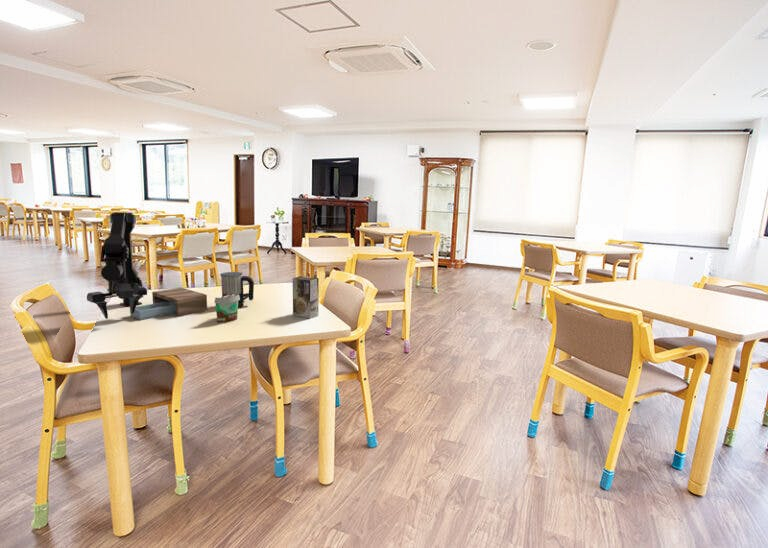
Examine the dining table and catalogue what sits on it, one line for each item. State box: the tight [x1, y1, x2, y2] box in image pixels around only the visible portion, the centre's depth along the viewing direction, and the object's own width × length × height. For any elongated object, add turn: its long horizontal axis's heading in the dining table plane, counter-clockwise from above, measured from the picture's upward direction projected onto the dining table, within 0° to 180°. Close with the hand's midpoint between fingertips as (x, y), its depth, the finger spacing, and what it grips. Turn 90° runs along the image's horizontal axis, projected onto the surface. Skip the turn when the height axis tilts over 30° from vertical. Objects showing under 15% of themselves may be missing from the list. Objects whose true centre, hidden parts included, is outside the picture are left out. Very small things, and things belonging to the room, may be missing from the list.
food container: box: [214, 292, 240, 323], centre depth 167 cm, size 12×6×10 cm, turn 168°
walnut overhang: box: [151, 286, 208, 318], centre depth 178 cm, size 20×12×7 cm, turn 55°
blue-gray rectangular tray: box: [129, 301, 176, 321], centre depth 171 cm, size 8×16×4 cm, turn 144°
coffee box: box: [292, 275, 320, 319], centre depth 176 cm, size 9×6×16 cm
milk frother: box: [219, 271, 255, 309], centre depth 190 cm, size 14×16×15 cm
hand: (119, 316), depth 160 cm, fingers open, 9 cm apart
